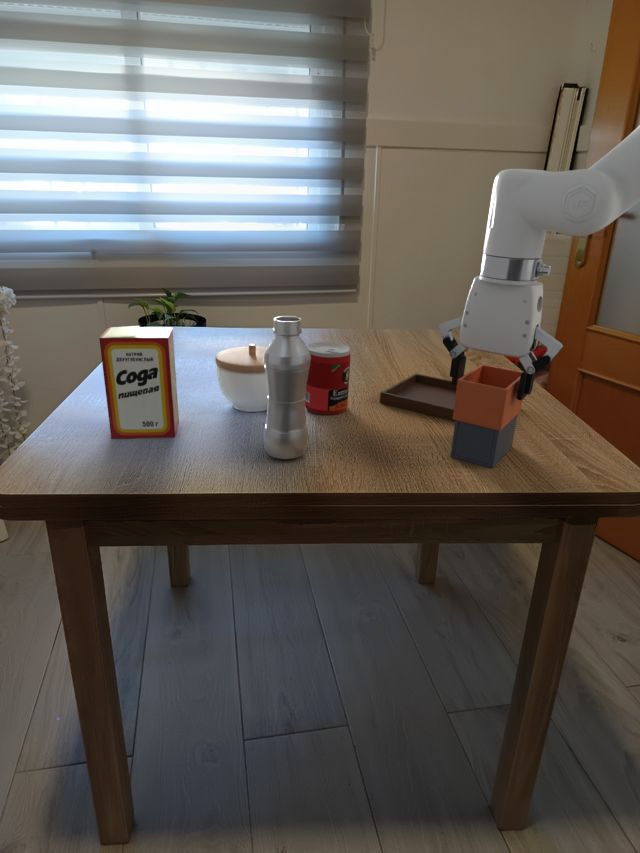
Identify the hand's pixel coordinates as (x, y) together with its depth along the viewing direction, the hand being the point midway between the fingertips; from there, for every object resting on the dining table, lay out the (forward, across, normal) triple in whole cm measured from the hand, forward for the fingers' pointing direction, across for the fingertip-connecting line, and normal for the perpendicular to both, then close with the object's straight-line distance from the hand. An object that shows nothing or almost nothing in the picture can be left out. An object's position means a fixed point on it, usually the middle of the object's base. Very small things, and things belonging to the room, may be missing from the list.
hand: (488, 390), depth 84 cm
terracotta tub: (+4, 0, 0) cm, 4 cm away
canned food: (+10, +28, -1) cm, 30 cm away
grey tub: (+10, -1, 0) cm, 10 cm away
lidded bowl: (+11, +39, +6) cm, 41 cm away
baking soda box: (+11, +45, +25) cm, 53 cm away
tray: (+10, +12, -17) cm, 23 cm away
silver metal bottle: (+10, +22, +19) cm, 31 cm away
